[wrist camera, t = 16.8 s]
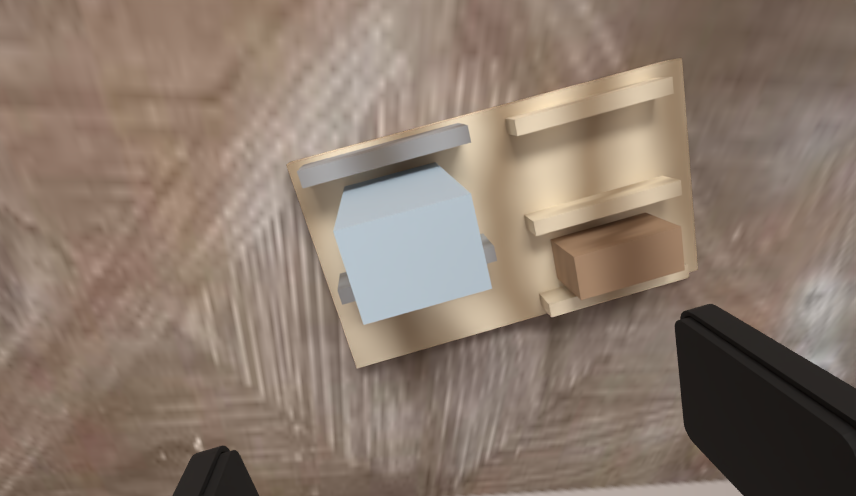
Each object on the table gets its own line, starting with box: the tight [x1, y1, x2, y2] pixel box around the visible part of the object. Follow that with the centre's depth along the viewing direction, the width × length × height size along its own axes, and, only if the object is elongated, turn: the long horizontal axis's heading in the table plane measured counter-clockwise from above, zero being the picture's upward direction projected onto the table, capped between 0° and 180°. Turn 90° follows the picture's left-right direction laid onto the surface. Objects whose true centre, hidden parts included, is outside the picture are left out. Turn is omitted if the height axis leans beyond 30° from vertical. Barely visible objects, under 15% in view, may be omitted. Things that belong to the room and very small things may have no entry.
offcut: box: [550, 212, 685, 300], centre depth 32 cm, size 7×3×4 cm, turn 104°
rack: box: [287, 58, 698, 368], centre depth 32 cm, size 26×15×4 cm, turn 104°
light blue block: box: [333, 162, 492, 325], centre depth 26 cm, size 6×4×11 cm
